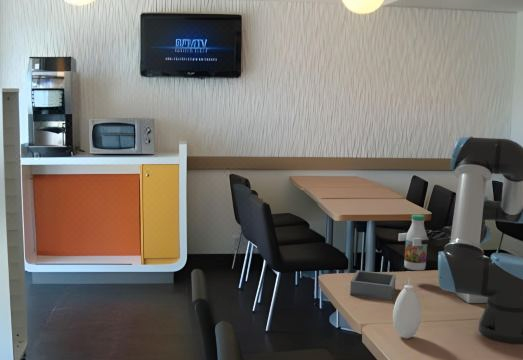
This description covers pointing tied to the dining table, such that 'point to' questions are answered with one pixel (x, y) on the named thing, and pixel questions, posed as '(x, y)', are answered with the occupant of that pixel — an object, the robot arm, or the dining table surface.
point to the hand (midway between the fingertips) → (406, 239)
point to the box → (373, 285)
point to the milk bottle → (415, 254)
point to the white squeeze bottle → (407, 312)
